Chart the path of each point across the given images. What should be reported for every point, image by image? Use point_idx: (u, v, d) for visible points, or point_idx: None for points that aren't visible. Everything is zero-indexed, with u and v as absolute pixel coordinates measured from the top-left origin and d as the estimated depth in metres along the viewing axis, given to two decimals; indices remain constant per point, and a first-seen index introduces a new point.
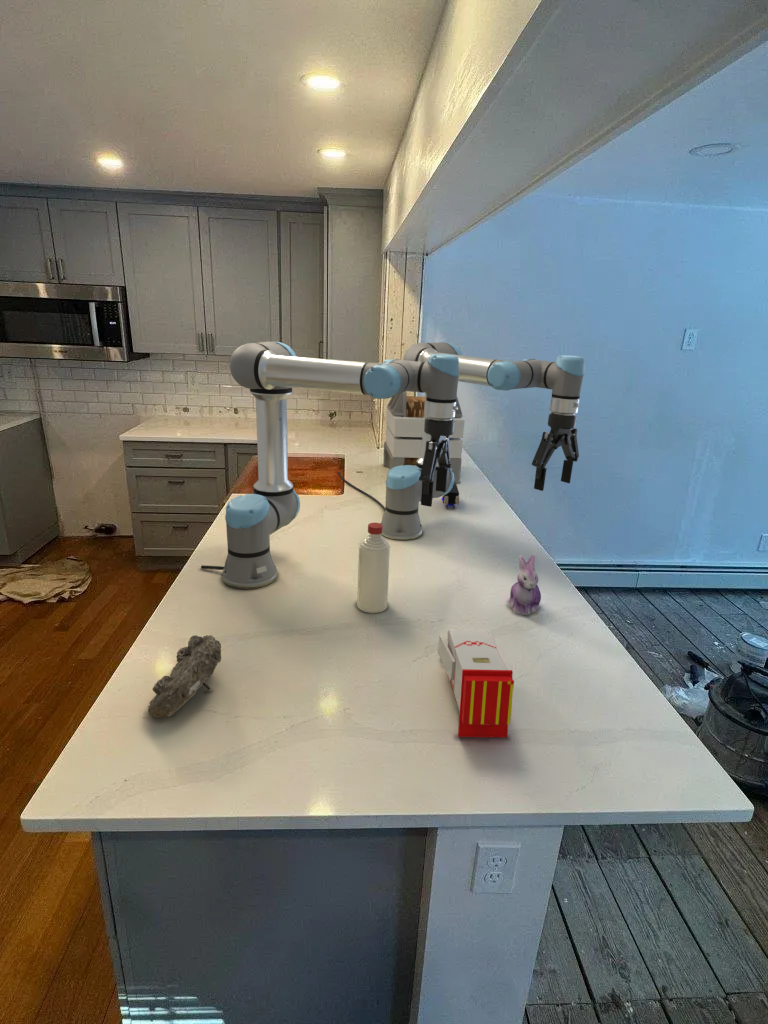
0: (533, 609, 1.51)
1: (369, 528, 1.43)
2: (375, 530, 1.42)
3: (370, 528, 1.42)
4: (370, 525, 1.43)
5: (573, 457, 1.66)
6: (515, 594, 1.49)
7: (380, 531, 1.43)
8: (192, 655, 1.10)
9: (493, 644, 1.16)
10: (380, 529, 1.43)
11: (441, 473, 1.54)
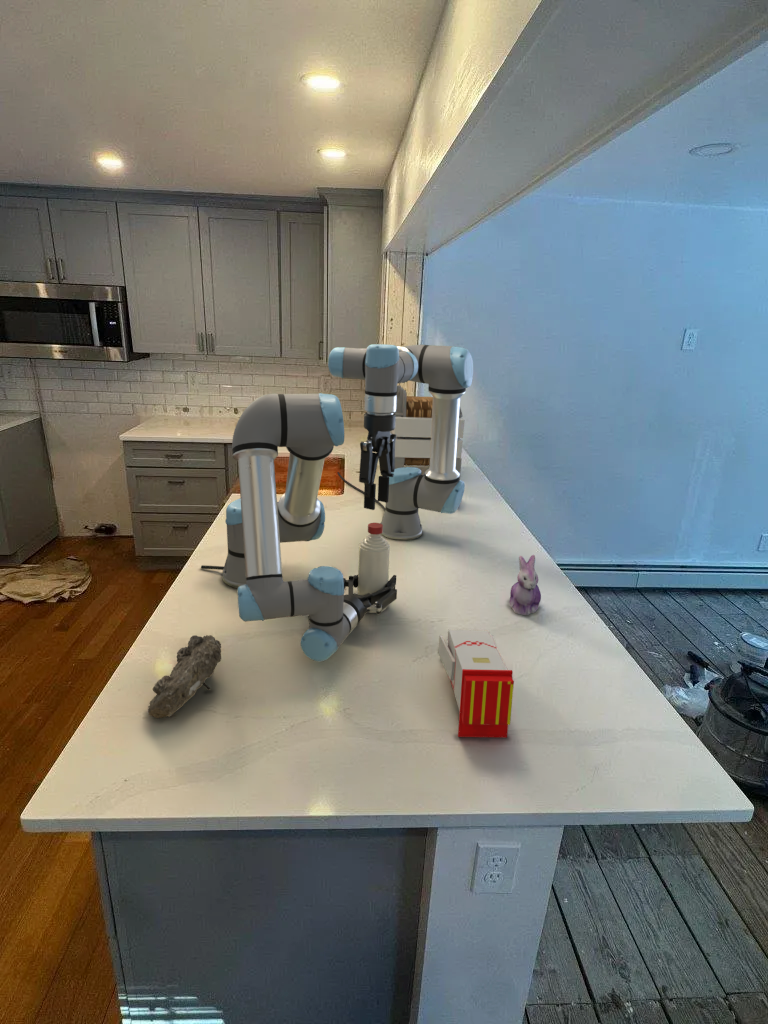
0: (533, 609, 1.51)
1: (369, 528, 1.43)
2: (375, 530, 1.42)
3: (370, 528, 1.42)
4: (370, 525, 1.43)
5: None
6: (515, 594, 1.49)
7: (380, 531, 1.43)
8: (192, 655, 1.10)
9: (493, 644, 1.16)
10: (380, 529, 1.43)
11: None
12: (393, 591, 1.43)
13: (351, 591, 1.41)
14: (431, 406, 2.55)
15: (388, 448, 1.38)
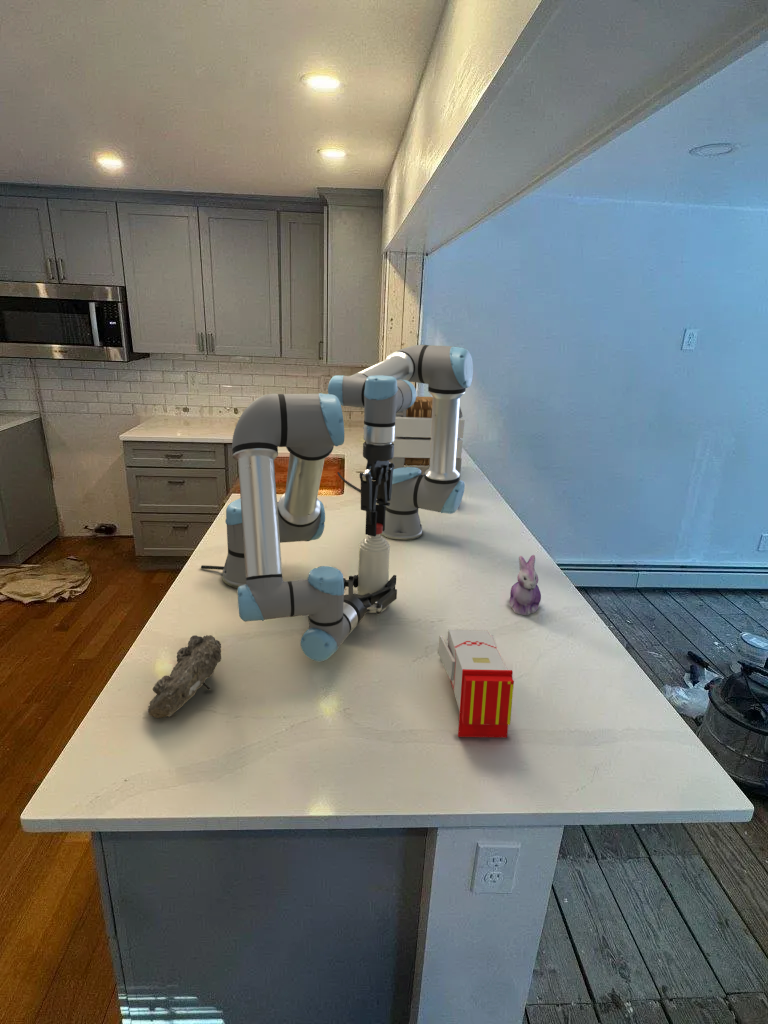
0: (533, 609, 1.51)
1: None
2: None
3: None
4: None
5: None
6: (515, 594, 1.49)
7: (380, 531, 1.43)
8: (192, 655, 1.10)
9: (493, 644, 1.16)
10: (380, 529, 1.43)
11: None
12: (393, 591, 1.43)
13: (351, 591, 1.41)
14: (431, 406, 2.55)
15: (386, 476, 1.40)
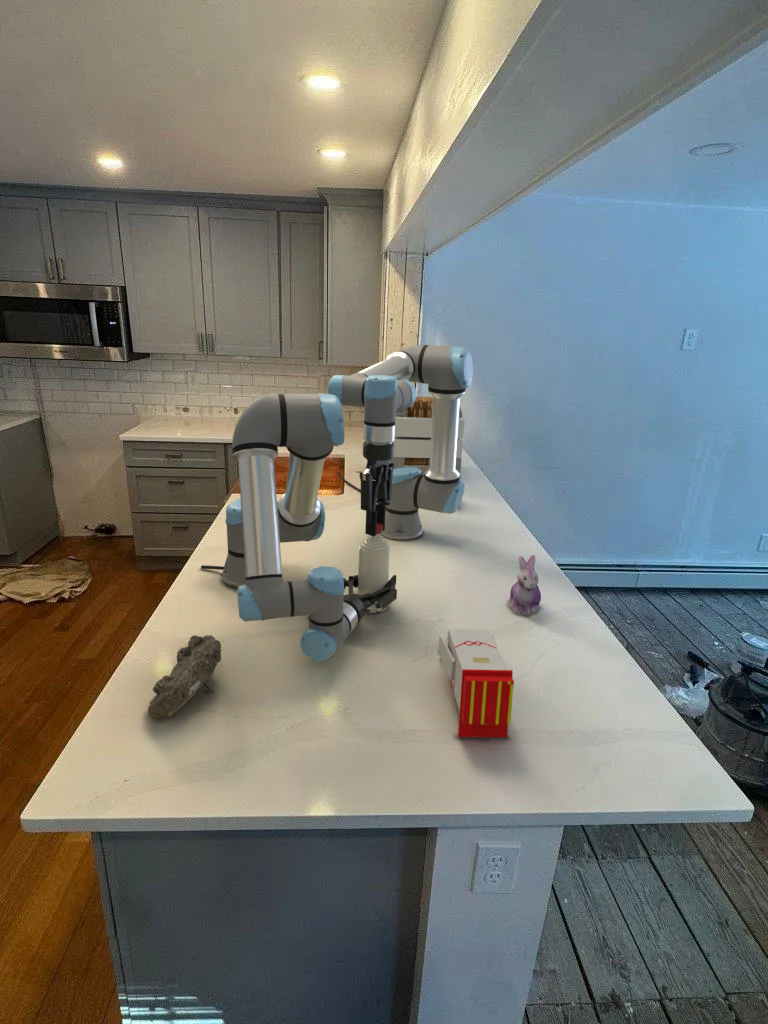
0: (533, 609, 1.51)
1: (379, 529, 1.42)
2: (382, 527, 1.44)
3: (380, 528, 1.42)
4: (376, 526, 1.42)
5: None
6: (515, 594, 1.49)
7: None
8: (192, 655, 1.10)
9: (493, 644, 1.16)
10: None
11: None
12: (393, 591, 1.43)
13: (351, 591, 1.41)
14: (431, 406, 2.55)
15: (386, 476, 1.40)
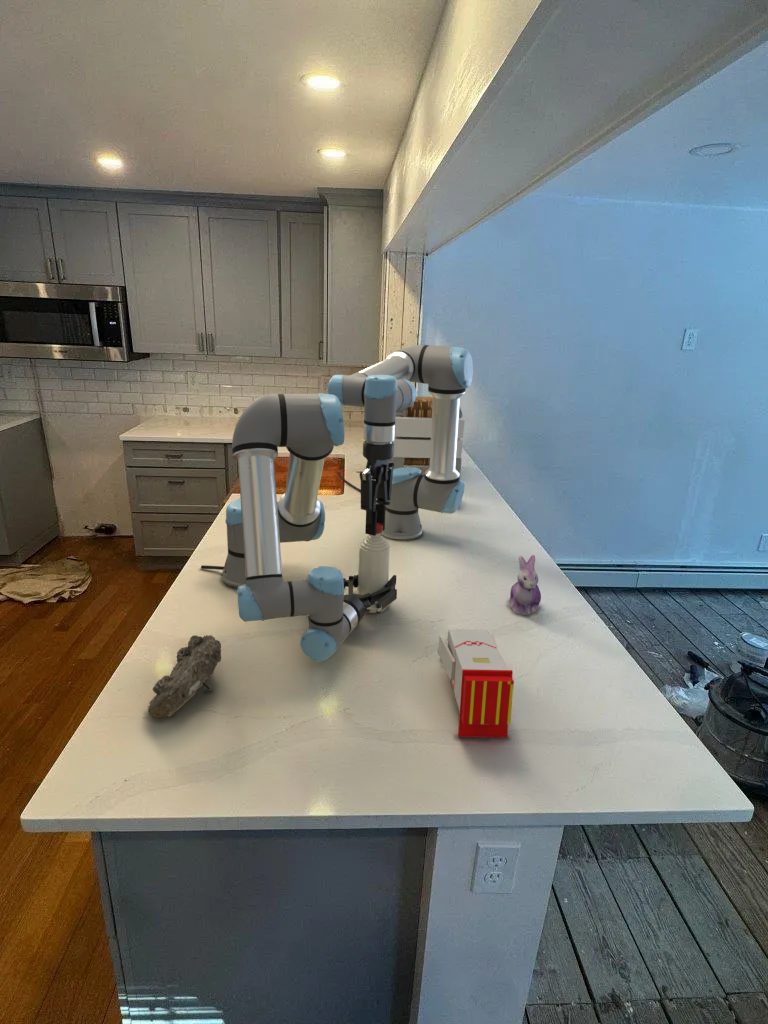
0: (533, 609, 1.51)
1: None
2: None
3: None
4: (380, 524, 1.44)
5: None
6: (515, 594, 1.49)
7: None
8: (192, 655, 1.10)
9: (493, 644, 1.16)
10: None
11: None
12: (393, 591, 1.43)
13: (351, 591, 1.41)
14: (431, 406, 2.55)
15: (386, 476, 1.40)
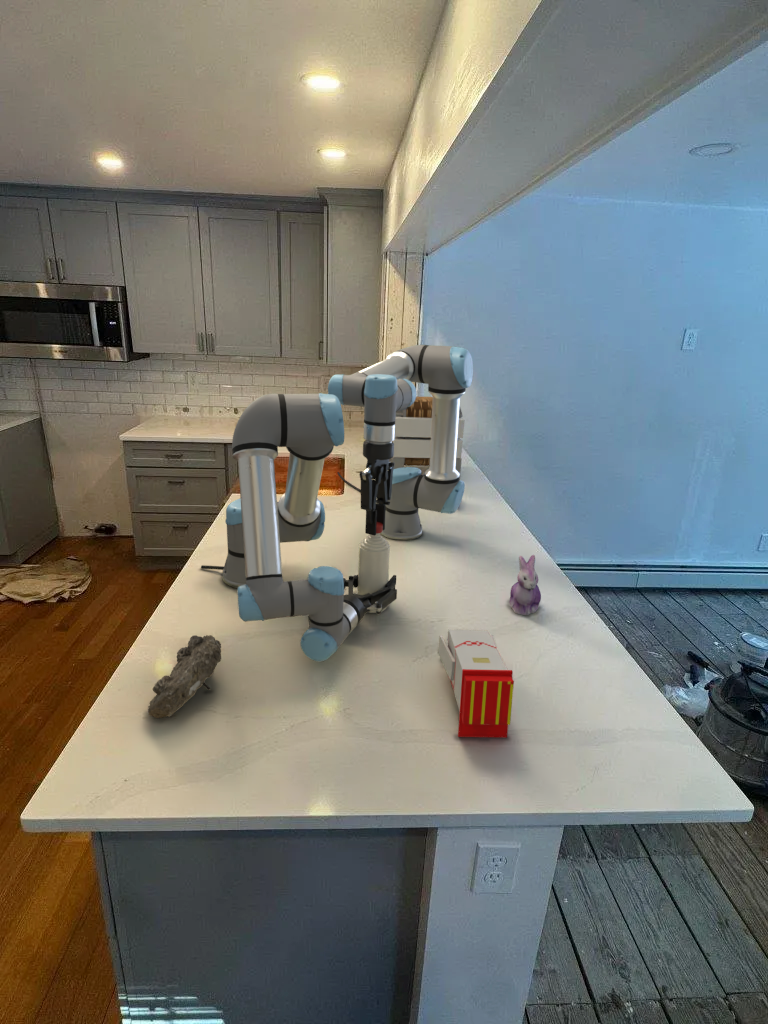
0: (533, 609, 1.51)
1: None
2: None
3: None
4: None
5: None
6: (515, 594, 1.49)
7: None
8: (192, 655, 1.10)
9: (493, 644, 1.16)
10: None
11: None
12: (393, 591, 1.43)
13: (351, 591, 1.41)
14: (431, 406, 2.55)
15: (386, 475, 1.40)
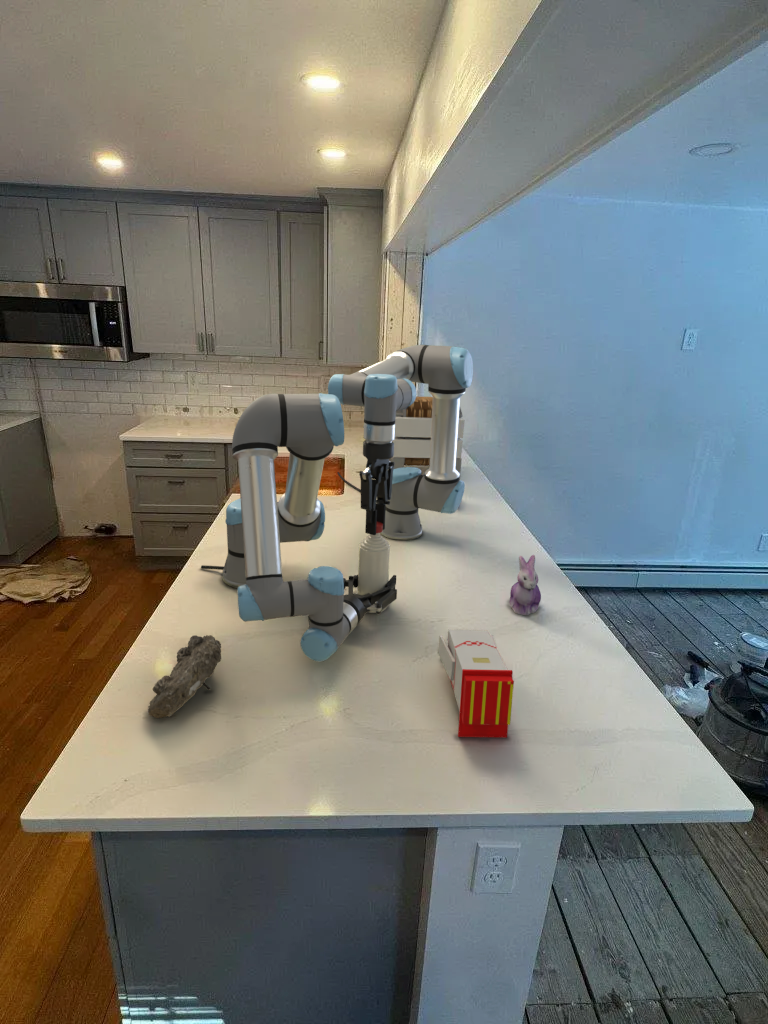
0: (533, 609, 1.51)
1: None
2: None
3: None
4: None
5: None
6: (515, 594, 1.49)
7: (379, 530, 1.42)
8: (192, 655, 1.10)
9: (493, 644, 1.16)
10: (379, 528, 1.42)
11: None
12: (393, 591, 1.43)
13: (351, 591, 1.41)
14: (431, 406, 2.55)
15: (386, 475, 1.40)
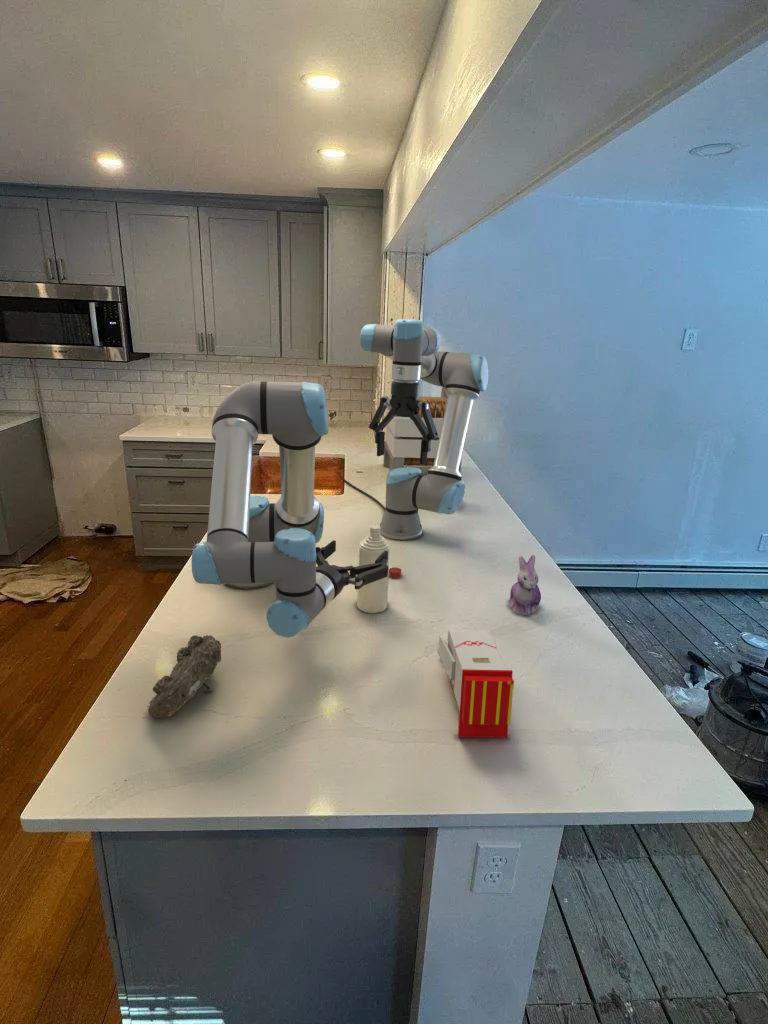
0: (533, 609, 1.51)
1: (398, 574, 1.67)
2: None
3: (399, 573, 1.67)
4: (395, 571, 1.67)
5: (424, 435, 1.50)
6: (515, 594, 1.49)
7: None
8: (192, 655, 1.10)
9: (493, 644, 1.16)
10: None
11: None
12: (383, 567, 1.25)
13: (326, 562, 1.25)
14: (431, 406, 2.55)
15: None
